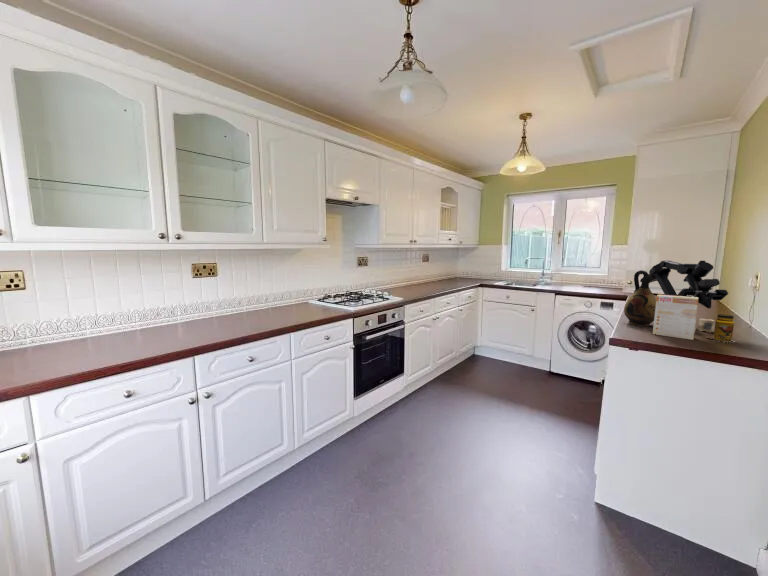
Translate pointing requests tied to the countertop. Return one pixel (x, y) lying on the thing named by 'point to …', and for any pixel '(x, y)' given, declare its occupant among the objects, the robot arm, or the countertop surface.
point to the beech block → (706, 325)
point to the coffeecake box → (675, 316)
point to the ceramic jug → (641, 301)
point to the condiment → (724, 328)
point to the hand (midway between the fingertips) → (709, 307)
